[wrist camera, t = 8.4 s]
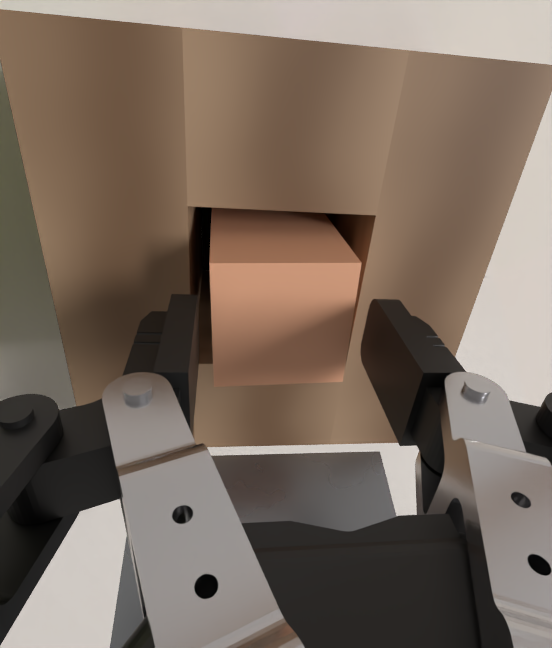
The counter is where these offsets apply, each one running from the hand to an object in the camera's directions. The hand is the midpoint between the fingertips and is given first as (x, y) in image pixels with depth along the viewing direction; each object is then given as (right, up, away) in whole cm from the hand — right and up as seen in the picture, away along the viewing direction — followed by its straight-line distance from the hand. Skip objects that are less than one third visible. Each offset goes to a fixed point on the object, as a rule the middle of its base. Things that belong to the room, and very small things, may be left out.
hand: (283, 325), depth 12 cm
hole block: (-1, +5, +8) cm, 10 cm away
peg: (-1, +3, +6) cm, 7 cm away
